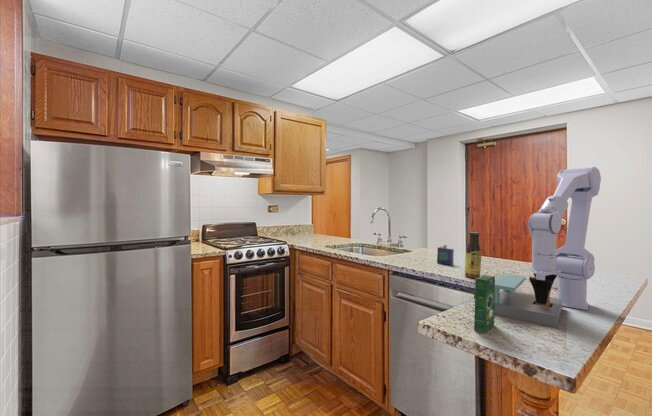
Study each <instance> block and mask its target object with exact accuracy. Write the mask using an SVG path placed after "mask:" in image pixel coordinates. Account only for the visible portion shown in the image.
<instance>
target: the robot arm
mask: <svg viewBox="0 0 652 416" xmlns="http://www.w3.org/2000/svg"><path fill="white" fill-rule="evenodd" d="M600 172H601V171H600V170H599V168H597V166H591V167H584V168H572V169H571V168H570V169H560V170H559V171H558V173H557V176H556V183H557V187H556V189H555V192H554V193H553V195H550V196H548V197H547V198H546V199H545V201H544V202H543V203H542V205H541V207H540V209H539V210H538V211H537V212H534V213H533V214H531V215H530V216H529V218H528V221H527V224H528V225H527V226H528V229H529V233H530V234H529V235H530V238H531V239H532V241H531V242H532V243H531V267H530V271H531V272H532V273H533V276H534V277H532V276H529V278H528V280H529V283H530V284H531V286H532V289H533V293H534V295H535V298H536V302H537V303H538V304H544V305H546V302H547V299H548V294H549V290H550V293H551V291H552V288H551V287H552V284H553V283H554V280H555V278H556V277H557V276H558V289H557V297H556V298H558V299H562V307H566V308H572V309H577V310H583V311H588V310H589V302H588V301H587V293H588V292H587V291H588V289H587V286H588V285H587V284H588V281H587V280H590V279H591V278H592V277H593V276H594V274H595V268H596V267H595V266H596V265H595V256H594V255H593V253H591V252H590V251H589V250H587V249H586V248H585V245H586V238H587V231H588V225H589V219H590V213H591V205H592V199H593V198H594V197H596V196H598V195H599V192H600V187H601V180H602V177H601V173H600ZM569 198H571V204H570V205H571V206H570V210H569V218H568V223H567V229H566V230H567V231H566V237H565V242H564V245H562V246H561V247H558V248H557V234H558V233H559V232H560V231H561V228H562V223H563V216H564V214H565V212H566V211H567V208H568V207H569V202H568V200H569ZM555 274H556V275H555Z"/></svg>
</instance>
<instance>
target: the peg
mask: <svg viewBox="0 0 652 416" xmlns="http://www.w3.org/2000/svg"><path fill="white" fill-rule="evenodd" d="M550 297H551V292H550V290H549V294H548V299H547V302H546V305H544V304H538V303H537V302H536V305H541V306H546V307H550Z"/></svg>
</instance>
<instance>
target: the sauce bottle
mask: <svg viewBox="0 0 652 416" xmlns="http://www.w3.org/2000/svg"><path fill="white" fill-rule="evenodd" d="M468 234H469V235H468V236H469V240H468V241H469V242H468V244H466V248H465V261H464V262H465V265H464V275H465V278H466V277H467V278H470V279H475V278H478V277H480V276H481V268H482V267H481V265H482V249H481V246H480V242H479V240H480V233H479V232H475V231H474V232H473V231H471V232H470V231H469V233H468Z"/></svg>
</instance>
